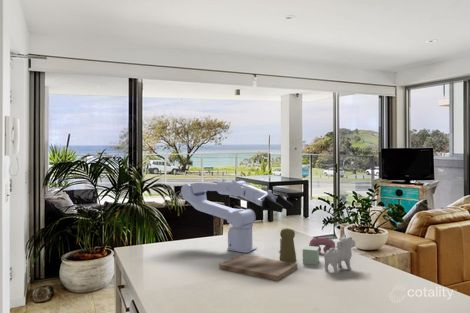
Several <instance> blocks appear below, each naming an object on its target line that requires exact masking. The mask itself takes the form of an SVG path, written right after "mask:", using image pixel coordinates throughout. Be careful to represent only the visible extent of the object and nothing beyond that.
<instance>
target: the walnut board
mask: <svg viewBox="0 0 470 313" xmlns="http://www.w3.org/2000/svg"><path fill="white" fill-rule="evenodd" d="M218 269H219V270H224V271H229V272H234V273H239V274H243V275H249V276H252V277H253V276H254V277H258V278H262V279H266V280H267V279H268V280H272V281H276V282H277V281H278V282H279V281H280V280H281V279H283V278H284V277H286V276H288V275H289V274H291V273H292V272H294V271H296V270H297V269H298V263H295V262H284V261H280V260H278V259H273V258H272V259H271V258H267V257H261V256H260V257H259V256H254V255H249V254H245V253H244V254H243V253H242V254H240V255H237V256H234V257H232V258H230V259H229V260H225V261H223V262H222V263H219V268H218Z"/></svg>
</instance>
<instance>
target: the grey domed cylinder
mask: <svg viewBox="0 0 470 313" xmlns="http://www.w3.org/2000/svg"><path fill="white" fill-rule="evenodd" d="M281 242H282V238H281V237H280V239H279V251H281Z"/></svg>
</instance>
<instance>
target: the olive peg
mask: <svg viewBox="0 0 470 313" xmlns="http://www.w3.org/2000/svg"><path fill="white" fill-rule="evenodd" d="M295 236H296V232H295V230H294V229H291V228H283V229H281V231H280V238H282V242H281V251H280V250H279V251H280V252H279V253H280V254H279V261H284V262H290V263H295V262H297V255H296V248H295V240H294V238H295Z"/></svg>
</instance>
